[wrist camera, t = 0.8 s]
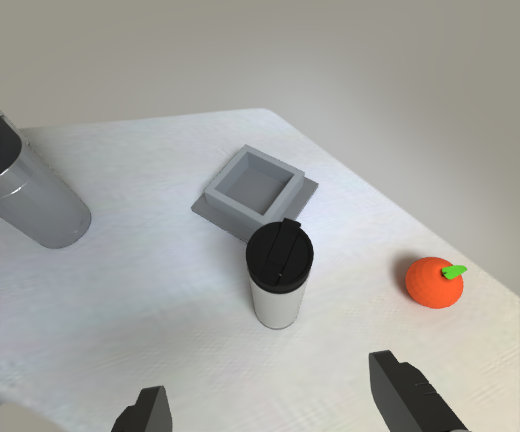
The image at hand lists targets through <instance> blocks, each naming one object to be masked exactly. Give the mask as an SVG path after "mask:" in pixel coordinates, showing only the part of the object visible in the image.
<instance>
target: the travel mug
mask: <svg viewBox="0 0 520 432" xmlns="http://www.w3.org/2000/svg"><path fill="white" fill-rule="evenodd" d="M300 227H301V223H299V222H297V221H294V220H292V219H288V218H285V217H284V219H283V221H282V222H272V223H268V224H266V225H264V226H262V227H260V228H259V229H258V230H256V231H255V233H254V234H253V235H252V236H251V238H250V240H249V241H248V244H247V248H246V261H247V270H248V275H249V281H250V286H251V291H252V297H253V302H254V307H255V312H256V316H257V318H258V319H259V321H260V322H261V323H262V324H263V325H264V326H266V327H268V328H270V329H275V330H280V329H284V328H286V327H288V326H290V325H291V324H292V323H293V322H294V321H295V319H296V317H297V314H298V311H299V308H300V304H301V301H302V298H303V294H304V291H305V288H306V285H307V281H308V278H309V274H310V271H311V266H312V262H313V256H314V251H313V246H312V243H311V240H310V239H309V237H308V235H307V234H306V233H305V232H304V231H303V230H302V229H301V228H300Z"/></svg>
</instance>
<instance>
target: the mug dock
mask: <svg viewBox="0 0 520 432" xmlns="http://www.w3.org/2000/svg"><path fill="white" fill-rule="evenodd" d="M304 175H305V172H303V171H301V170H299V169H297V168H295V167H293V166H291V165H288V164H286V163H284V162H282V161H280V160H278V159H276V158H274V157H271V156H269V155H267V154H265V153H263V152H261V151H259V150H257V149H255V148H252V147H250V146H248V145H246V144H245V145H244V147H243V148H242V149H241V150H240V151H239V152H238V153H237V154H236V155H235V157H234V158H233V159H232V160H231V161H230V162H229V163H228V164H227V165H226V166H225V168H224V169H223V170H222V171H221V172H220V173H219V174H218V175H217V176H216V178H215V179H214V180H213V181H212V182H211V183H210V184H209V185H208V186H207V188H206V189H205V190H204V194H203V195H202V196H201V197H200V198H199V199H198V200H197V202H196V203H195V204H194V205H193V206H192V207H191V209H192V211H193V212H195V213H197V214H199V215H200V216H202V217H204V218H205V219H207V220H209V221H210V222H212V223H214V224H216V225H217V226H219V227H221V228H222V229H224V230H226V231H227V232H229V233H231V234H232V235H234V236H236V237H238V238H239V239H241V240H243V241H244V242H246V243H248V241H249V240H250V238H251V236H252V235H253V234H254V233H255V231H256V230H258V229H259V228H260V227H262V226H264V225H266V224H268V223H272V222H282V221H283V219H284V217H285V218H288V219H292V220H294V221H295V220H296V218H297V217H298V215H299V214H300V212H301V211H302V210H303V208H304V207H305V205H306V204H307V202H308V201H309V199H310V198H311V196H312V195H313V194H314V192H315V191H316V189H317V188H318V183H316V182H314V181H312V180H310V179H308V178H306V177H304Z"/></svg>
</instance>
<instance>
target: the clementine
mask: <svg viewBox="0 0 520 432" xmlns="http://www.w3.org/2000/svg"><path fill="white" fill-rule="evenodd" d="M466 270H467V268H466V267H465V266H459V265H456V266H454V265H452V264H451V263H450V262H448V261H446V260H444V259H441V258H438V257H426V258H422V259H420V260H418V261H416V262H414V263H413V264H412V265H411V266H410V267H409V269H408V271H407V273H406V279H405V281H406V287H407V290H408V292H409V294H410V295H411V296H412V298H413V299H414V300H415V301H417V302H418V303H420V304H421V305H423V306H426V307H429V308H434V309H440V308H445V307H449V306H451V305H453V304H454V303H455V302H456V301H457V300H458V299H459V298H460V297H461V294H462V292H463V279H462V276H461V274H462V273H463V272H465V271H466Z"/></svg>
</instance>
